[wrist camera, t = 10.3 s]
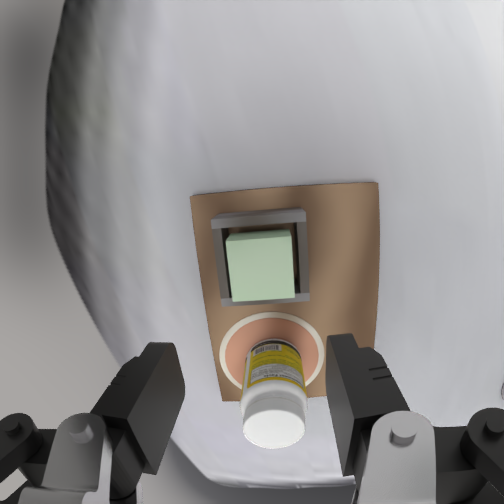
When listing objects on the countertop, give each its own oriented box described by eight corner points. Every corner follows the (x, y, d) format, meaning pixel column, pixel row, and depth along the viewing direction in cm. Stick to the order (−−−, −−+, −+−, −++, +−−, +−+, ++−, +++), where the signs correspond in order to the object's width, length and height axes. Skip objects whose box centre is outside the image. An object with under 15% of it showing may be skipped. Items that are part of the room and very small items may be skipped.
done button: (288, 228, 20) (291, 236, 17) (292, 283, 21) (294, 297, 18) (230, 233, 20) (225, 241, 18) (236, 287, 21) (232, 301, 19)
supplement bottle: (280, 388, 26) (281, 459, 17) (235, 366, 25) (222, 436, 17) (312, 352, 24) (326, 422, 16) (265, 326, 24) (262, 395, 16)
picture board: (373, 182, 22) (393, 184, 18) (365, 383, 26) (375, 410, 23) (193, 195, 23) (178, 199, 19) (223, 394, 28) (217, 422, 24)
